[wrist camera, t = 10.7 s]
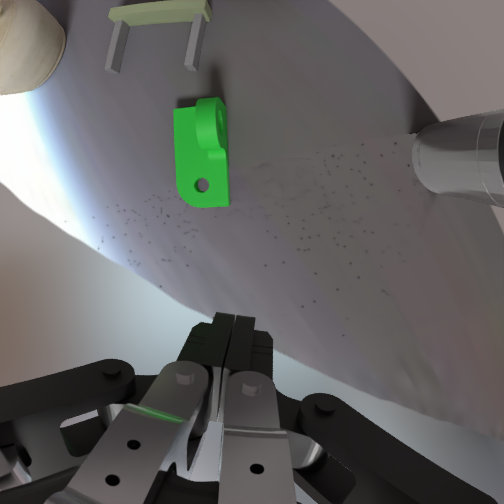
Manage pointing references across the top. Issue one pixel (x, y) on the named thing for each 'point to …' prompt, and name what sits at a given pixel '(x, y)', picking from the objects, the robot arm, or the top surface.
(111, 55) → the low bench
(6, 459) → the robot arm
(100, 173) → the top surface
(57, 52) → the jug
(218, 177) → the mechanical part
